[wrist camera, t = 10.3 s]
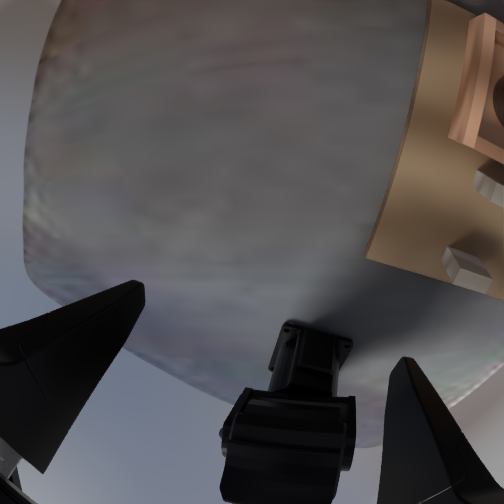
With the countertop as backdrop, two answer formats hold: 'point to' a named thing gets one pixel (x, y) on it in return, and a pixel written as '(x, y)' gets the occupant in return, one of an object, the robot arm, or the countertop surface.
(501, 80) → the cell
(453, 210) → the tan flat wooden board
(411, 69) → the countertop surface
